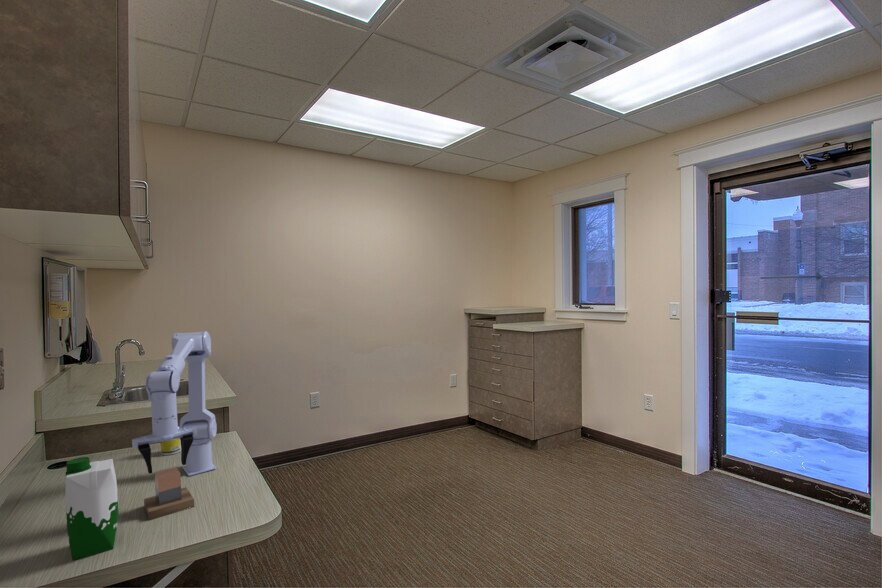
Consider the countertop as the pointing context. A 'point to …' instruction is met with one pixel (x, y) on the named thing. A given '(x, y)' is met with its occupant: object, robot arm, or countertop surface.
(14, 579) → the countertop surface
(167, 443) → the supplement bottle
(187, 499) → the walnut stand
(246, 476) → the countertop surface
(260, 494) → the countertop surface
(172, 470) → the block
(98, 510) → the milk carton
